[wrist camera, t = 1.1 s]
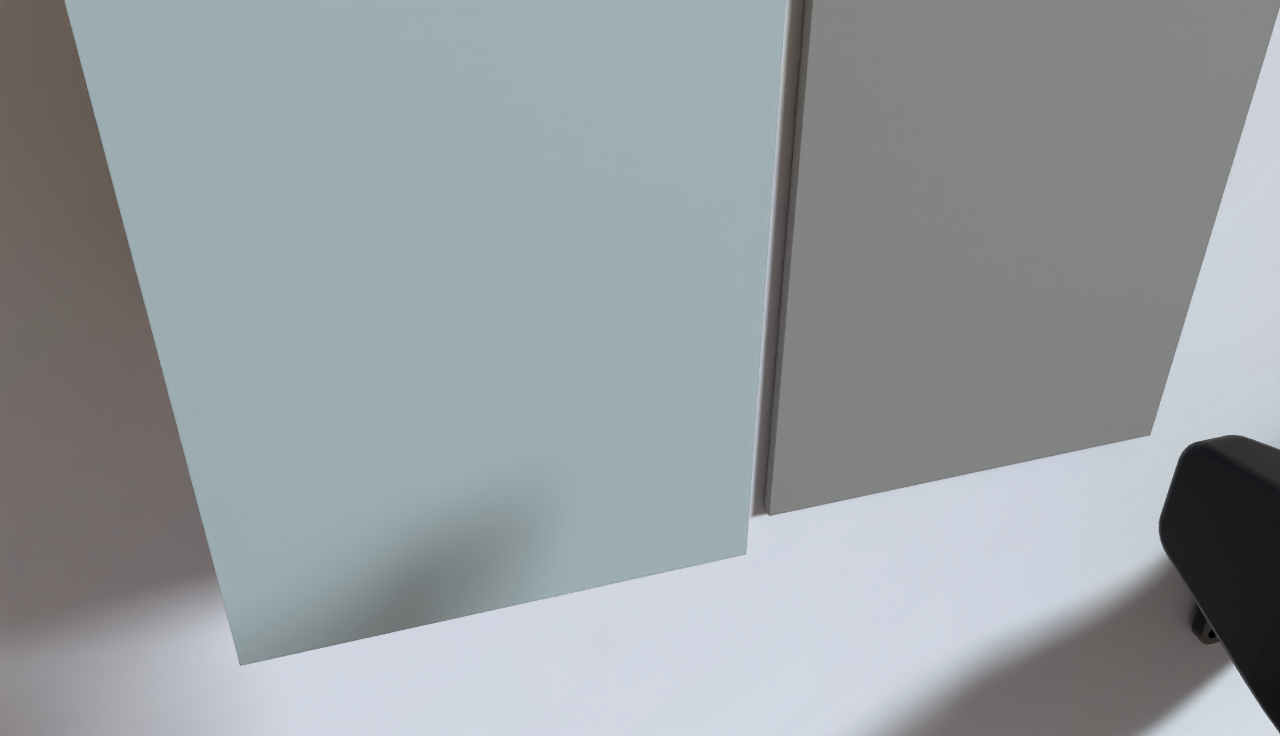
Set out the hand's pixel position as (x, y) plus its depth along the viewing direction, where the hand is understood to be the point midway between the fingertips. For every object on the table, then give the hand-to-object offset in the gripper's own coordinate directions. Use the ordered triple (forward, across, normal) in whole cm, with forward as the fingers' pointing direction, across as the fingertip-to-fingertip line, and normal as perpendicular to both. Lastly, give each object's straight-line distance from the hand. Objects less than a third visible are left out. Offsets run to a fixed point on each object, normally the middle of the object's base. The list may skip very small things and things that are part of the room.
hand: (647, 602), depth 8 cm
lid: (+9, 0, 0) cm, 9 cm away
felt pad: (+13, -12, +4) cm, 18 cm away
